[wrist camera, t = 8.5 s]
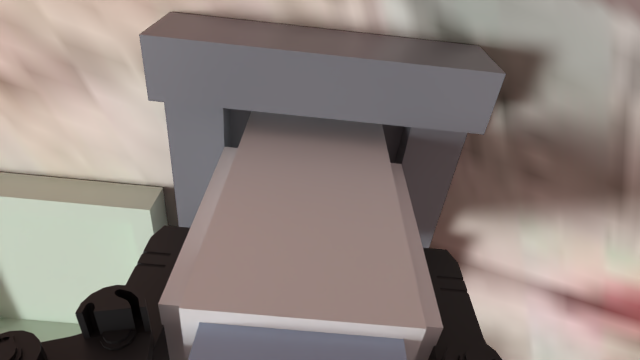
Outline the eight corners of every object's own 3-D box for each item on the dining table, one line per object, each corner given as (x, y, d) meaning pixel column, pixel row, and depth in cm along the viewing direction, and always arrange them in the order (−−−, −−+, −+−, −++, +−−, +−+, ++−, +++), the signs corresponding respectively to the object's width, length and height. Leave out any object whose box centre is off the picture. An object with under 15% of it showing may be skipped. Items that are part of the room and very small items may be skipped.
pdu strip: (209, 420, 28) (195, 479, 25) (170, 12, 13) (127, 43, 11) (358, 431, 28) (361, 490, 26) (478, 45, 14) (516, 84, 11)
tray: (-5, 321, 23) (-25, 346, 21) (-89, 163, 17) (-122, 185, 16) (183, 336, 23) (174, 361, 22) (162, 187, 17) (149, 210, 16)
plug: (251, 109, 14) (146, 396, 6) (381, 122, 15) (446, 419, 6) (250, 211, 17) (174, 512, 9) (361, 221, 17) (389, 526, 9)
